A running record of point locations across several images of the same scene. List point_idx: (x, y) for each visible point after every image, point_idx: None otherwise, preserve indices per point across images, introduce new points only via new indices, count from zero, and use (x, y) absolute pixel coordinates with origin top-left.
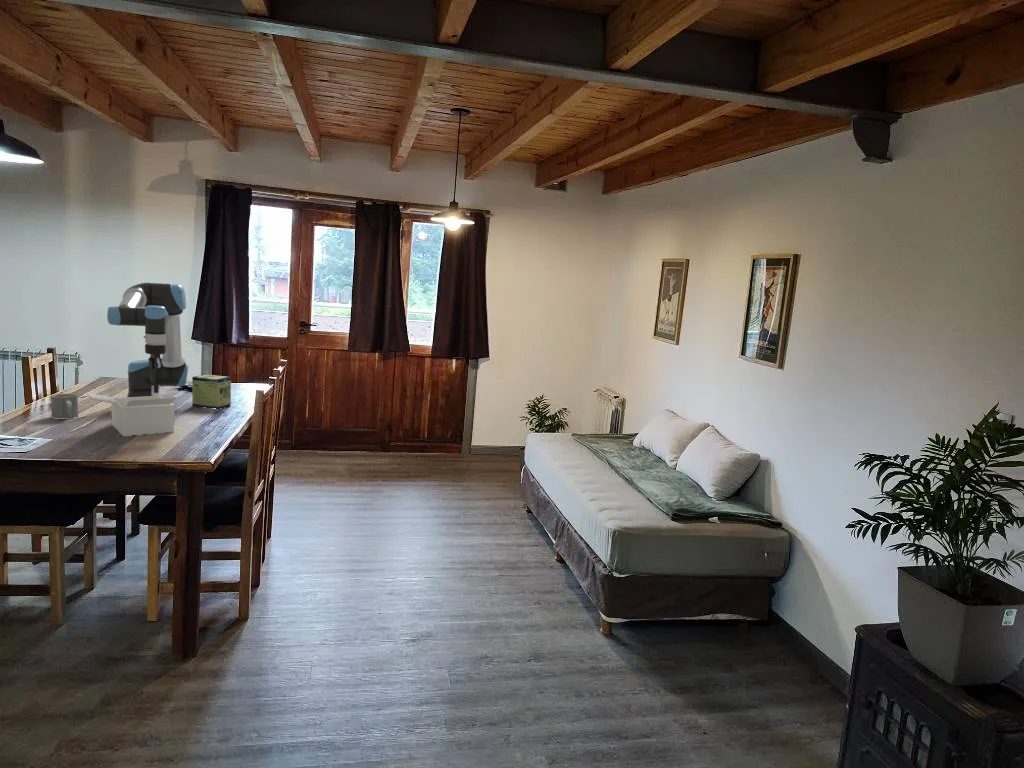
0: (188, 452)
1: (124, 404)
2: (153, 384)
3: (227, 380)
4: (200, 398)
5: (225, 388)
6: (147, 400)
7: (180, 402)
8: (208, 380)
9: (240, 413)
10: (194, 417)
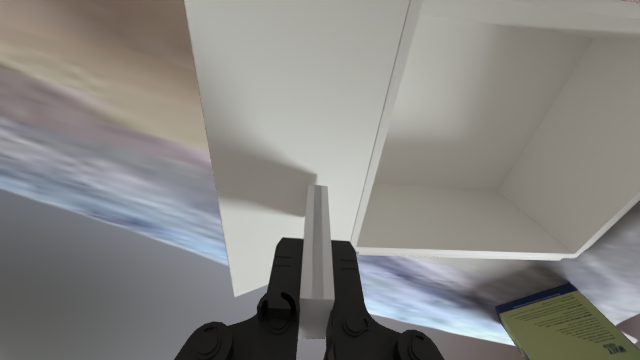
0: (20, 132)
1: None
2: (259, 316)
3: None
4: (566, 313)
5: None
6: (242, 145)
7: (633, 277)
8: None
9: (430, 321)
10: (466, 260)
